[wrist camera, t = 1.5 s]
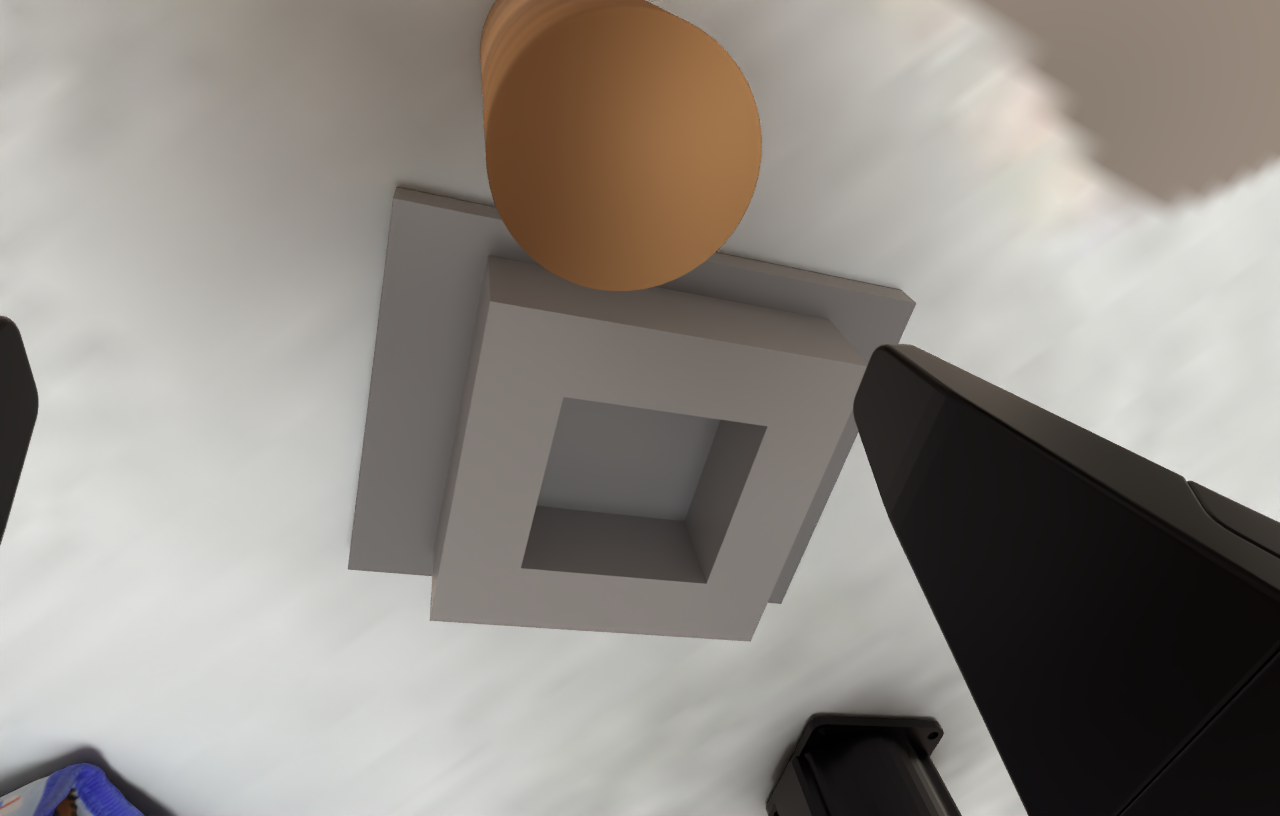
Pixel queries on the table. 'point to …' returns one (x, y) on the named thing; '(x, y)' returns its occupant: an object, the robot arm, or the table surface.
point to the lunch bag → (69, 795)
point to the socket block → (602, 430)
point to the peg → (614, 138)
